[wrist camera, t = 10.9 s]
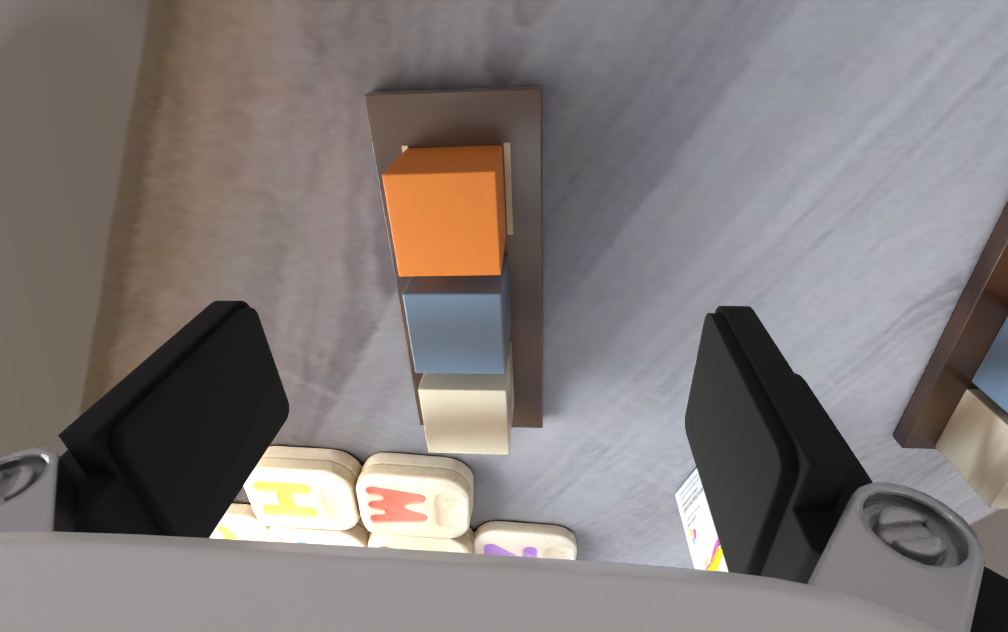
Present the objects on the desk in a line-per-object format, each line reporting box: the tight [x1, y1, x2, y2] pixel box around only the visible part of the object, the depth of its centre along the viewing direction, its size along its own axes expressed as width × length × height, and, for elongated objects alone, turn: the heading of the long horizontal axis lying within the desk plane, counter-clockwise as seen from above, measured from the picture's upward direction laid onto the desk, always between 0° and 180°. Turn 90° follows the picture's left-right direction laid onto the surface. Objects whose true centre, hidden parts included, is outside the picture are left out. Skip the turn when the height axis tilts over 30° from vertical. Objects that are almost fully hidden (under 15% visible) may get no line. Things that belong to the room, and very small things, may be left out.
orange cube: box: [382, 145, 506, 277], centre depth 23 cm, size 4×4×4 cm
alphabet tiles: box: [210, 446, 577, 560], centre depth 43 cm, size 33×33×2 cm
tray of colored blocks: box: [364, 86, 543, 455], centre depth 26 cm, size 20×8×6 cm, turn 2°
